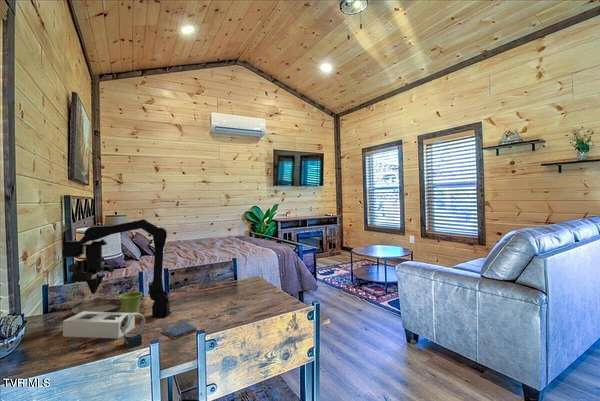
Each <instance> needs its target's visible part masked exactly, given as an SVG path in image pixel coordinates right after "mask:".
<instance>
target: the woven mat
mask: <svg viewBox="0 0 600 401" xmlns="http://www.w3.org/2000/svg"><path fill="white" fill-rule="evenodd" d="M198 331H199V330H198V327H197V326H195V325H194V324H191V323H189V322H187V321H182V322H181V323H179V322H178V323H177V324H174V325H171V326H167V327H163V329H162V331H161V333H163V334H164V335H166V336H169V337H170V338H171V339H173V340H176V339H179V338H182V337H184V336H189V335H190V334H193V333H196V332H198Z"/></svg>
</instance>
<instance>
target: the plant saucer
mask: <svg viewBox="0 0 600 401" xmlns="http://www.w3.org/2000/svg"><path fill="white" fill-rule="evenodd" d="M120 309H122V302H121V299H119V298H109V299H108V298H106V299H97V300H93V301H89V302H88V301H87V302H84V303H80V304H78V305H75V307H72V309H71V313H72V314H73V315H77V314H79V313H81V312H83V311H86V312H118V311H120Z"/></svg>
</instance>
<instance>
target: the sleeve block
mask: <svg viewBox="0 0 600 401" xmlns="http://www.w3.org/2000/svg"><path fill="white" fill-rule="evenodd" d="M88 314H95V317H93V318H91V319H81V317H82V316H84V315H88ZM129 314H131V313H123V312H118V311H117V312H86V311H83V312H81V313H79V314H77V315H75V314H73V315H72V316H71V317H69V318H65V319H64V320H62V337H66V338H88V339H89V338H91V339H92V338H93V339H95V338H96V339H116V340H117V339H120V338H122V337H124V334H123V333H122V332H121V329H120V324H121V322H122V320H123V318H124V317H125V316H126V315H129ZM111 315H119V318H117V319H115V320H105V318H106V317H108V316H111ZM135 316H136V315H134V316H133V318H132V319H131V323H130V325H129V327H128V328H127V329H126V330H125V332H124V333H125V334H128V333H129V332H131V331H132V330H133V329H135V328H136V326H135V323H136V322H135V320H136V319H135Z"/></svg>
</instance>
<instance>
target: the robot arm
mask: <svg viewBox="0 0 600 401" xmlns="http://www.w3.org/2000/svg"><path fill="white" fill-rule="evenodd" d="M140 229H141V230H143V231H145V232H146V233H148V234H150V235H151V236H152V239H153V245H154V258H153V274H152V275H153V277H152V281H149V282H148V292H147V295H148V296H149V298H150V300H152V301H153V302H152V306H151V316H150V317H151V318H156V319H157V318H158V319H161V318H162V319H165V318H167V317H168V316H170V315H171V314H172V311H170V310H171V301H170V298H169V292H166V291H165V289H164V283H163V282H164V281H163V266H164V265H163V264H164V248H165V244H166V240H167V236H168V234H167V233H168V232H167V230H166V228H164V227H161V226H160V227H158V226H156V225H155V224H153V223H151V222H150V221H147V219H145V218H142V219H137V220H133V221H129V222H122V223H117V224H114V225H113V224H112V225H93V226H89V227H88V228H86V229H85V231H84V235H83V236H82V238H81V239H79V240H66V241H65V240H64V241H63V246H62V250H61V254H62V255H61V256H62V258H63V259H69V258H81V257H82V255H84V254H85V258H84V259H82V261H81V263H79V264H77V263H76V262H75V263H71V264H69V265H68V272H69V273H72V274H71V275H70V276H69V282H71V283H74V282H75V283H85V282H86V284H87V286H88V289H89V290H90V293H91V295H92V294H96V293H97V291H98V289H99V287H100V285H101V283H102V282H103V280H104V278H105V277H106V274H103V273H105V272H108V273H109V274H110V273H113V272H115V267H114V265H112V264H103V261H105V257H103V246H107V244H108V242H107V241H105V239H103V238H106V237H108V236H111V235H115V234H119V233H124V232H125V233H126V232H130V231H136V230H140ZM100 239H101V240H100ZM97 240H98V241H97ZM90 241H91V243H88V242H90Z"/></svg>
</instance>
